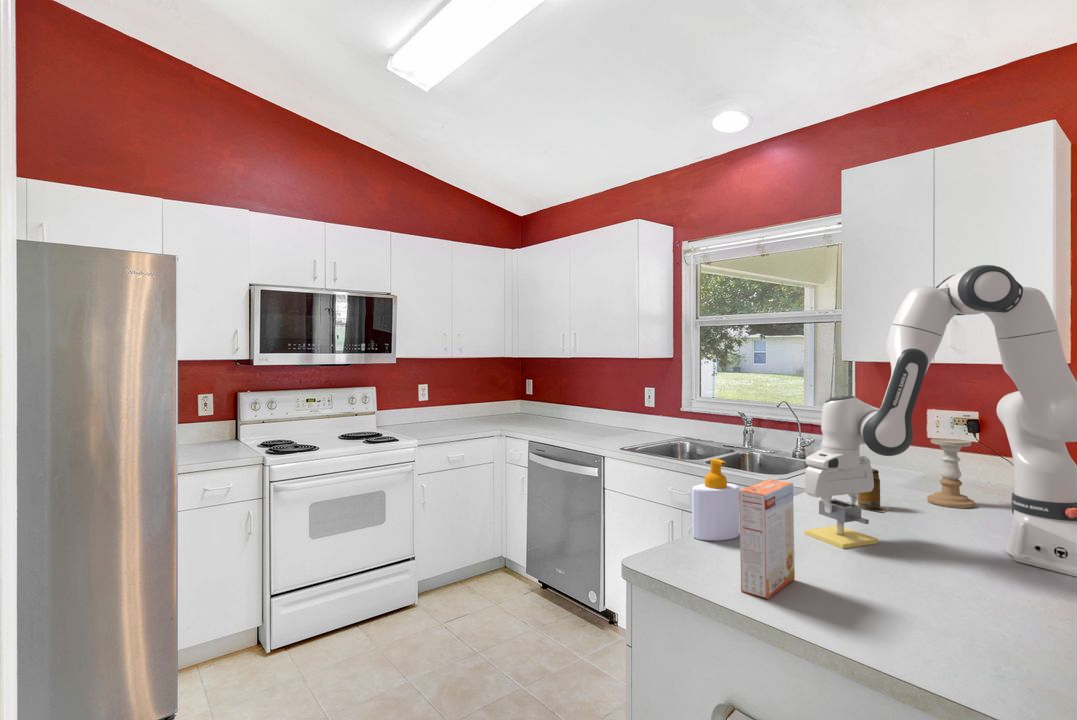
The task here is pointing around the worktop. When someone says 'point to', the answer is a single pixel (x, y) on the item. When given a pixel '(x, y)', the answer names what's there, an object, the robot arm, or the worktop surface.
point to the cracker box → (766, 537)
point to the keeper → (841, 536)
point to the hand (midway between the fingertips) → (839, 510)
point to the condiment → (872, 496)
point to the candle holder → (950, 476)
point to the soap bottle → (715, 507)
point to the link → (843, 511)
